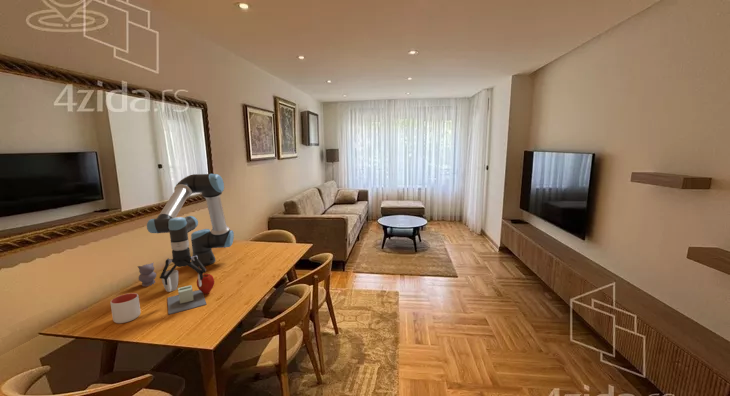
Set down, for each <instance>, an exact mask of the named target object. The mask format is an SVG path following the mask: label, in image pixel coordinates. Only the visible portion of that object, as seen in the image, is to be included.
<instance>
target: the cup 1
mask: <svg viewBox="0 0 730 396" xmlns="http://www.w3.org/2000/svg"><path fill="white" fill-rule="evenodd" d="M139 297H140V296H139V294H138V293H135V292H133V293H132V292H131V293H124V294H120V295H118V296H115V297H114V298H112V299H111V300H110V303H109V304H110V308H111V314H112V315H111V316H112V321H113V322H114V323H116V324H124V323H129V322H131V321H133V320H136V319H137V318H139V316H140V315H141V306H140V298H139Z"/></svg>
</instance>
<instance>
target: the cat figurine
mask: <svg viewBox="0 0 730 396" xmlns="http://www.w3.org/2000/svg"><path fill="white" fill-rule="evenodd" d="M137 268H138V271H139V272H138V273H140V274H139V276H138V281H140V283H141V286H142V287H150V286H153V285H155V284H156V280H155V279H156V277H157V273H156V272H155V267H154V262H151V263H146V264H143V265H142V266H140V265H138V266H137ZM154 283H155V284H154ZM152 284H153V285H152ZM149 285H150V286H149Z"/></svg>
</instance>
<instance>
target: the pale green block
mask: <svg viewBox="0 0 730 396" xmlns="http://www.w3.org/2000/svg"><path fill="white" fill-rule="evenodd" d="M193 291H194V290H193V286H192V284H191V285H186V286H182V287H177V293H178V295H179V301H180V304H181V303H185V302H189V301H193V300H194V299H193Z"/></svg>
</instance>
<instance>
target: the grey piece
mask: <svg viewBox="0 0 730 396" xmlns="http://www.w3.org/2000/svg"><path fill="white" fill-rule="evenodd" d="M193 299H194V300H193V301H189V302H185V303H181V304H180V301H179V294H176V295H173V296H169V297H167V313H168V315H169V316H170V315H173V314H174V315H175V314H176V313H181V312H184V311H187V310H191V309H195V308H199V307H200V308H201V307H203V306H206V305H207V302H206V299H205V294H204V293H203V292H202V291H200V290H199V289H198V290H193Z"/></svg>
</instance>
